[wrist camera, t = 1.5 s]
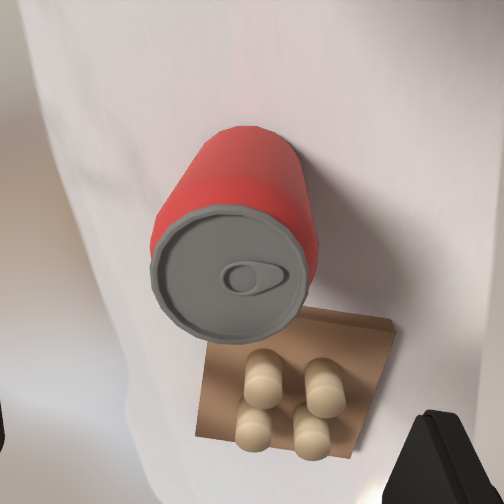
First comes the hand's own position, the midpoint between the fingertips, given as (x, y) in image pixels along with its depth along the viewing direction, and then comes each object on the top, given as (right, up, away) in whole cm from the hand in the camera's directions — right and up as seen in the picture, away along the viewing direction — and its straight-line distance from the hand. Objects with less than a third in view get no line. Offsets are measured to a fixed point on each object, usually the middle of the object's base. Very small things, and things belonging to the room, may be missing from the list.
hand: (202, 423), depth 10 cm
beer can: (+1, +8, +16) cm, 18 cm away
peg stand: (+4, -5, +22) cm, 23 cm away
